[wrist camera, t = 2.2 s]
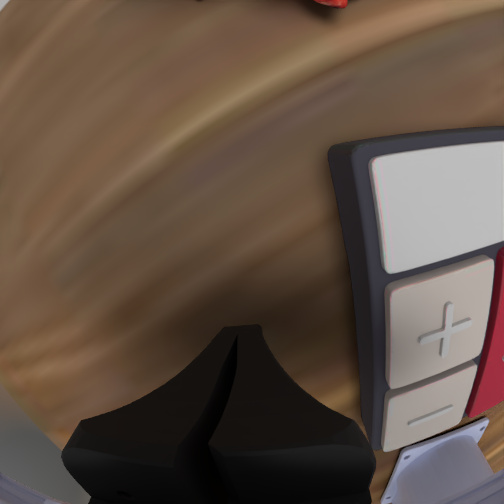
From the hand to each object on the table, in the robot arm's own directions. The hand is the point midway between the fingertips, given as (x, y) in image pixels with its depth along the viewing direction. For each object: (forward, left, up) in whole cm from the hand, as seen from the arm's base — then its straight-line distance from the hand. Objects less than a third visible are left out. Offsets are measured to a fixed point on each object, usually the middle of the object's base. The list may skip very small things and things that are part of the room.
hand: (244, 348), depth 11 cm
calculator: (0, -10, -3) cm, 11 cm away
